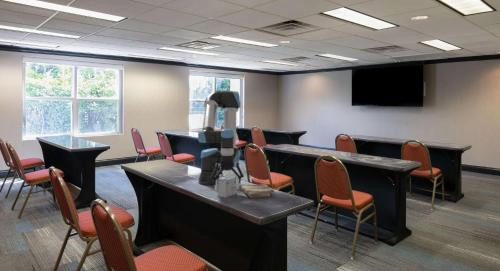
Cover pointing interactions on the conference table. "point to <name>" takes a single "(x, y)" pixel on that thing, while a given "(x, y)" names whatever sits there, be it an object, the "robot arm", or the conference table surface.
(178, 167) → the conference table surface
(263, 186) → the wavy wood-grain tile
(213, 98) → the robot arm
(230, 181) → the light bulb box
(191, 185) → the conference table surface
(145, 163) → the conference table surface
